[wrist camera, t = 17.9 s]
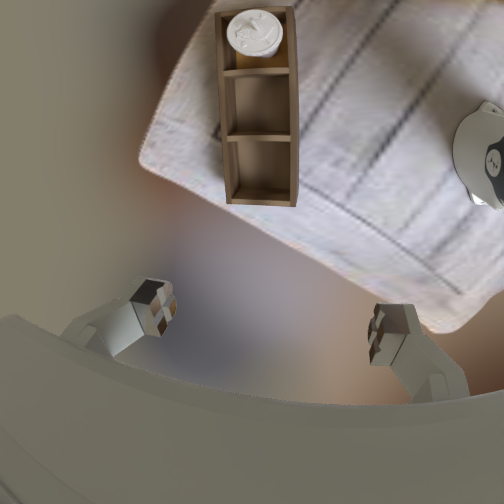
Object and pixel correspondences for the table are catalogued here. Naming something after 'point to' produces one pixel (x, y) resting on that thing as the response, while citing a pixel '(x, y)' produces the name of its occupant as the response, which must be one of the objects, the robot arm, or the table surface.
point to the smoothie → (255, 33)
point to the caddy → (259, 116)
